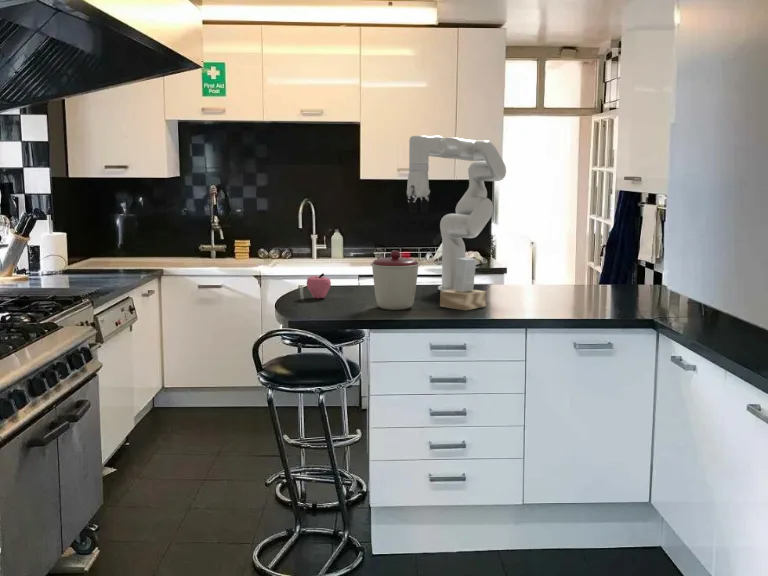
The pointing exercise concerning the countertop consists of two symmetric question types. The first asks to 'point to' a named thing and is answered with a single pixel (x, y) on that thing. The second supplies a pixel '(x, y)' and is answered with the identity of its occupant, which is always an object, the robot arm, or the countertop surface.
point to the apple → (318, 285)
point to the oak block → (463, 299)
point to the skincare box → (465, 274)
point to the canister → (395, 281)
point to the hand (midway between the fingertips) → (418, 212)
